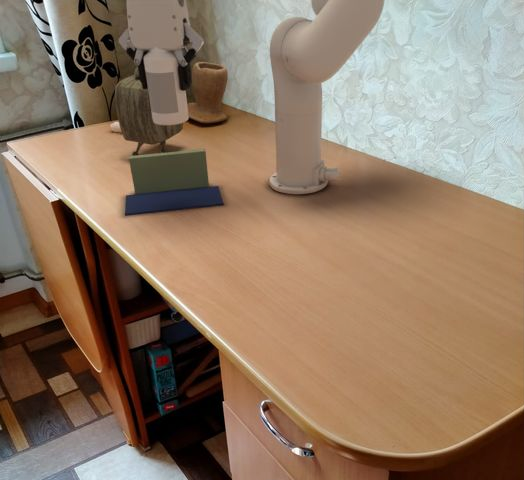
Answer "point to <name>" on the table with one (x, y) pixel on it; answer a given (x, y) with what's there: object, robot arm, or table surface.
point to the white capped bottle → (165, 87)
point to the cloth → (173, 200)
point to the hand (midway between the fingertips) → (166, 87)
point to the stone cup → (208, 92)
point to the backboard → (169, 171)
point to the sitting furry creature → (115, 127)
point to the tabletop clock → (140, 115)
